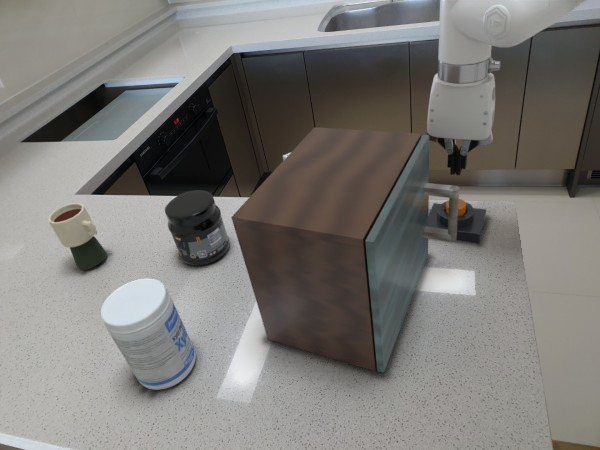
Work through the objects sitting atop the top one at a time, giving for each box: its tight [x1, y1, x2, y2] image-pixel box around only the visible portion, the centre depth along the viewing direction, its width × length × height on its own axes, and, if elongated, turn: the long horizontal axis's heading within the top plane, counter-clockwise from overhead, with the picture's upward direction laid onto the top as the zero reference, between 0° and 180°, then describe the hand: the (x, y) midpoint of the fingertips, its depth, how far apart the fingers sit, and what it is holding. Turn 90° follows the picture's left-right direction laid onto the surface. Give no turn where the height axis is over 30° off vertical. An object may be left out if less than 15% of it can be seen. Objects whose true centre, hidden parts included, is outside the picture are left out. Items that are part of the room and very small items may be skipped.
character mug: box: [47, 202, 108, 271], centre depth 95 cm, size 11×7×13 cm, turn 70°
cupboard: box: [230, 126, 422, 372], centre depth 72 cm, size 18×26×24 cm
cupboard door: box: [365, 134, 460, 374], centre depth 66 cm, size 6×26×24 cm, turn 154°
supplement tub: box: [100, 277, 197, 391], centre depth 68 cm, size 10×10×15 cm
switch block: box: [428, 200, 487, 244], centre depth 88 cm, size 10×8×4 cm
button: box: [445, 198, 467, 217], centre depth 86 cm, size 4×4×2 cm
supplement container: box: [164, 189, 230, 266], centre depth 92 cm, size 10×10×12 cm
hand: (456, 170), depth 82 cm, fingers closed
